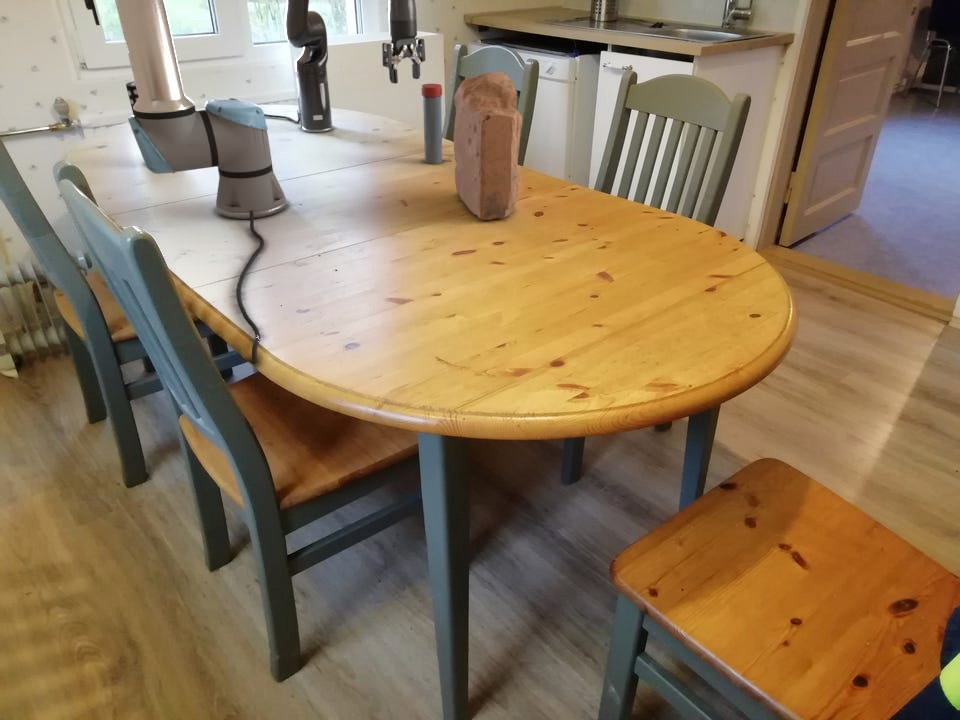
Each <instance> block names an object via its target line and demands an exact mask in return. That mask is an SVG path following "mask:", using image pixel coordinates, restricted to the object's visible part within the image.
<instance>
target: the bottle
mask: <svg viewBox="0 0 960 720" xmlns="http://www.w3.org/2000/svg"><path fill="white" fill-rule="evenodd" d="M422 114H423V115H422V116H423V144H424V149H423V150H424V162H425V163H426V164H428V165H437V164H438V165H439V164H442V163H443V127H442V126H443V123H442V122H443V121H442V119H443V118H442V96H440V97H424V96H422Z"/></svg>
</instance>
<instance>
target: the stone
mask: <svg viewBox="0 0 960 720" xmlns="http://www.w3.org/2000/svg"><path fill="white" fill-rule="evenodd" d="M515 87H516V86H515V84H514V81H512V80H510V77H509V76H508V75H507V74H506V72H502V71H495V72H493V71H492V72H487V73H483V74H479V75H476V76H472V77H466V78H465V79H463V80H462V81H461V83H460V85H459V86H458V88H457V90H456V92H455V94H454V97H453V99H454V100H453V101H454V106H455V118H454V128H453V129H454V131H453V153H454V162H455V166H454V185H455V190H456V193H457V195H458V196H459V197H460V199H461V201H462V202H463V203H464V204H465V205H466V207H467V208H468V209H469V211H470V212H471V213H472V214H473V215H474V216H475V215H476V216H477V218H478V219H479V220H481V221H492V220H496V219H505V218H507V217H508V216H509V215H510V214H512V213H513V212H514V211H515V209H516V203H517V201H518V196H519V192H518V190H519V182H520V174H519V173H520V172H519V167H518V164H519V161H518V160H519V153H520V140H521V133H522V128H523V115H522V114H520V112H519V111H518V109H517V107H518V96H517V91H516V88H515Z"/></svg>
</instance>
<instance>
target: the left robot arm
mask: <svg viewBox="0 0 960 720" xmlns="http://www.w3.org/2000/svg"><path fill="white" fill-rule="evenodd" d="M83 1H84V5H85V7H86V9H87V11H89V10H91V12H92V15H93V19H94V23H95V26H101V24H100V20H99V16H98V13H97V8H96V4H95V1H94V0H83ZM165 1H166V0H114V2H115V6H116V10H117V14H118V19H119V23H120V26H121V31H122V35H123V39H124V42H125V46H126V51H127V55H128V59H129V63H130V67H131V72H132V77H133V79H134V80H133V81H135V84H136V88H137V92H138V96H139V98H138V100H137V102H136V103H135V104H134V106H133V110H134V114H135V116H134V115H131V116H129V117H128V119H127V121H128V123H129V126H130V128H131V131H132V134H133V137H134V139H135V142H136V144H137V147H138V149H139V151H140V153H141V156H142V159H143V161H144V163H145V165H146V168H147V169H148V170H149V171H150V172H151V173H153V174H158V175H161V174H170V173H171V174H176V173H178V172H186V171H187V172H188V171H195V170H201V169H208V168H215V167H217V169H218V170H217V172H218V185H217V193H216V201H215V203H216V204H215V206H216V210H217V213H218V214H219V215H221V216H223V217H225V218H229V219H236V220H249V228H250V232H251V234H253V236H255V237H256V238H257V239H258V240H259V246H258V247H257V249H255V251H254V252H253V253H252V255H251V256H250V258H249V260H248V261H247V263H246V264H245V266H244V267H243V269H242V271H241V273H240V275H239V278H238V281H237V285H236V293H235V294H236V301H237V305H238V308H239V310H240V313H241V315H242V317H243V319H244V320H245V321H246V323H247V324H248V325H249V326H250V328H251V329H252V331H253V332H254V336H255V338H254V341H253V343H252V348H251V362H252V364H253V365H257V364H258V348H257V346H258V347H259V344H258V341H259V343H260V342H261V333H260V330H259V328H258V326H257V325H256V323H255V322H254V321H253V319H251V318H250V316H249V314H248V312H247V310H246V308H245V306H244V304H243V300H242V286H243V281H244V279H245V276H246V274H247V272H248V270H249V269H250V267H251V266H252V264H253V262H254V261H255V259H256V258H257V256H258V255H259V254H260V253H261V251H262V250H263V248H264V245H265V241H264V238H263V237H262V236H261V235H260V234H259V233H258V232H257V231H256V229H255V220H254V219H260V218H261V219H262V218H265V217H266V218H267V217H270V216H274V215H276V214H278V213H280V212H282V211H283V210H285V209H286V207H287V199H286V194H285V193H284V191H283V189H282V187H281V184H280V182H279V180H278V179H277V177H276V175H275V172H274V167H273V160H272V154H271V147H270V140H269V135H268V125H267V121H266V116H264V114H265V113H264V110H263V109H262V108H261V107H260V106H259V105H258V104H255V103H253V102H249V101H244V100H239V99H237V100H227V99H228V98H227V99H222V98H221V99H214V100H213V99H212V100H211V99H209V100H207V101H206V102H205V104H204V109H199V110H197V109H196V106H195V102H194V101H193V100H192V99H191V98H190V97H188V96H186V94H185V90H184V85H183V82H182V77H181V72H180V67H179V63H178V59H177V53H176V49H175V44H174V39H173V35H172V34H173V33H172V29H171V23H170V21H169V16H168V9H167V6H166V2H165ZM257 335H258V336H259V339H260V340H259V339H258V338H256V337H257Z"/></svg>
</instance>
